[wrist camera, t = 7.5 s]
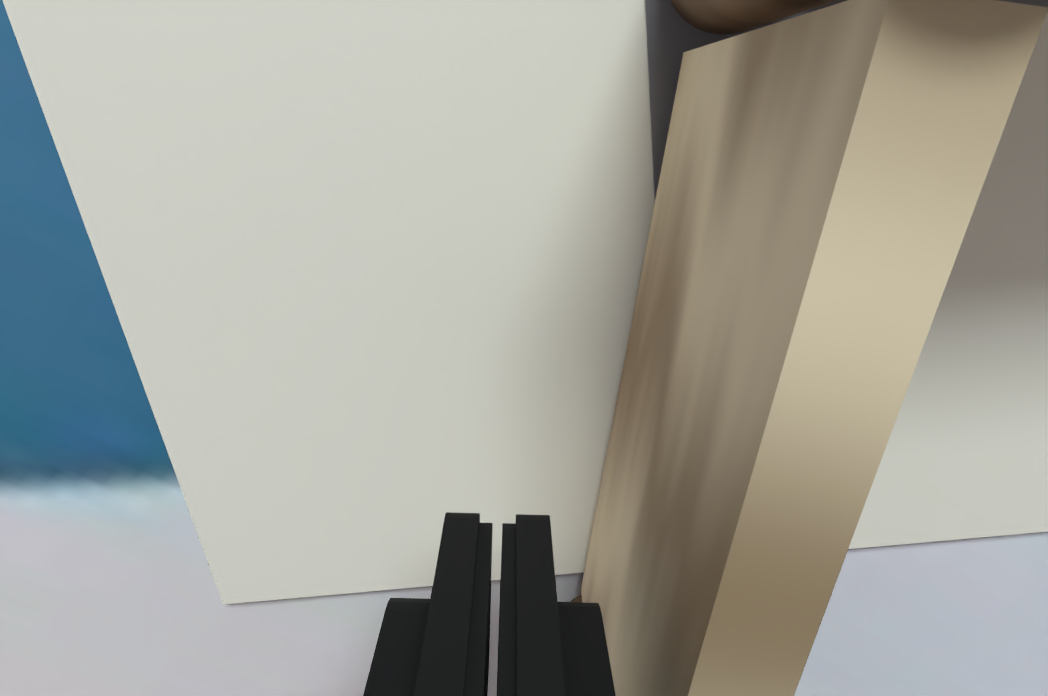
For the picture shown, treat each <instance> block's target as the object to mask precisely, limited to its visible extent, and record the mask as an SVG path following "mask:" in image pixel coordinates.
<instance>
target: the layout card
mask: <svg viewBox="0 0 1048 696" xmlns="http://www.w3.org/2000/svg"><path fill="white" fill-rule="evenodd" d="M844 1H848V0H838V1H835V2H832V3H829V4H826V5H823V6H820V7H816V8H813V9H810V10H807V11H804V12H801V13H798V14H795V15H792V16H789V17H786V18H783V19H780V20H777V21H774V22H770V23H767V24H764V25H761V26H758V27H755V28H752V29H749V30H746V31H743V32H740V33H735V34H726V35H721V34H712V33H708V32H705V31H702V30H700V29H697V28H696V27H694V26H692V25H691V24H689V23H688V22H687V21H686V20H684V19H683V18H682V17H681V15H680V14H679V13H678V12H677V11H676V9H675V8H674V6H673V5H672V3H671V1H670V0H3V3H4V6H5V9H6V11H7V14H8V17H9V20H10V22H11V25H12V28H13V31H14V33H15V36H16V39H17V41H18V44H19V47H20V50H21V52H22V55H23V58H24V61H25V63H26V66H27V69H28V72H29V74H30V77H31V80H32V82H33V85H34V88H35V91H36V93H37V96H38V99H39V102H40V104H41V107H42V110H43V113H44V115H45V118H46V121H47V124H48V126H49V129H50V132H51V134H52V137H53V140H54V143H55V145H56V148H57V151H58V154H59V156H60V159H61V162H62V165H63V167H64V170H65V173H66V175H67V178H68V181H69V184H70V186H71V189H72V192H73V195H74V197H75V200H76V203H77V206H78V208H79V211H80V214H81V216H82V219H83V222H84V225H85V227H86V230H87V233H88V236H89V238H90V241H91V244H92V247H93V249H94V252H95V255H96V257H97V260H98V263H99V266H100V268H101V271H102V274H103V277H104V279H105V282H106V285H107V288H108V290H109V293H110V296H111V298H112V301H113V304H114V307H115V309H116V312H117V315H118V318H119V320H120V323H121V326H122V329H123V331H124V334H125V337H126V339H127V342H128V345H129V348H130V350H131V353H132V356H133V359H134V361H135V364H136V367H137V370H138V372H139V375H140V378H141V380H142V383H143V386H144V389H145V391H146V394H147V397H148V400H149V402H150V405H151V408H152V411H153V413H154V416H155V419H156V421H157V424H158V427H159V430H160V432H161V435H162V438H163V441H164V443H165V446H166V449H167V452H168V454H169V457H170V460H171V462H172V465H173V468H174V471H175V473H176V476H177V479H178V482H179V484H180V487H181V490H182V493H183V495H184V498H185V501H186V503H187V506H188V509H189V512H190V514H191V517H192V520H193V523H194V525H195V528H196V531H197V534H198V536H199V539H200V542H201V545H202V547H203V550H204V553H205V555H206V558H207V561H208V564H209V566H210V569H211V572H212V575H213V577H214V580H215V583H216V586H217V588H218V591H219V594H220V596H221V599H222V602H223V604H234V603H245V602H256V601H267V600H279V599H290V598H301V597H313V596H324V595H335V594H347V593H358V592H369V591H381V590H392V589H403V588H415V587H426V586H433V582H434V576H435V570H436V564H437V559H438V553H439V547H440V541H441V535H442V530H443V524H444V518H445V514H446V512H451V513H480V523H493V529H492V566H491V581H494V580H501V552H502V523H513V524H515V522H516V514H524V515H549V516H550V523H551V534H552V546H553V558H554V570H555V575H562V574H573V573H584V571H585V565H586V560H587V555H588V550H589V545H590V539H591V534H592V529H593V524H594V518H595V513H596V508H597V503H598V497H599V492H600V487H601V482H602V476H603V471H604V466H605V461H606V455H607V450H608V445H609V440H610V435H611V429H612V424H613V419H614V414H615V408H616V403H617V398H618V393H619V387H620V382H621V377H622V372H623V366H624V361H625V356H626V351H627V345H628V340H629V335H630V330H631V325H632V319H633V314H634V309H635V304H636V298H637V293H638V288H639V283H640V277H641V272H642V267H643V262H644V256H645V251H646V246H647V241H648V235H649V230H650V225H651V220H652V215H653V209H654V204H655V199H656V194H657V188H658V183H659V178H660V173H661V167H662V162H663V157H664V152H665V146H666V141H667V136H668V131H669V125H670V120H671V115H672V110H673V105H674V99H675V94H676V89H677V84H678V78H679V73H680V68H681V63H682V57H683V52H686V51H689V50H693V49H696V48H699V47H702V46H705V45H708V44H712V43H715V42H718V41H721V40H724V39H727V38H731V37H734V36H737V35H740V34H743V33H746V32H750V31H753V30H756V29H759V28H762V27H765V26H769V25H772V24H775V23H778V22H781V21H784V20H788V19H791V18H794V17H797V16H800V15H803V14H807V13H810V12H813V11H816V10H819V9H822V8H826V7H829V6H832V5H835V4H838V3H841V2H844ZM997 1H1005V2H1012V3H1019V4H1026V5H1034V6H1041V7H1048V0H997ZM1037 532H1048V11H1047V14H1046V17H1045V19H1044V22H1043V25H1042V28H1041V30H1040V33H1039V36H1038V38H1037V41H1036V44H1035V46H1034V49H1033V52H1032V54H1031V57H1030V60H1029V63H1028V65H1027V68H1026V71H1025V73H1024V76H1023V79H1022V81H1021V84H1020V87H1019V90H1018V92H1017V95H1016V98H1015V100H1014V103H1013V106H1012V108H1011V111H1010V114H1009V117H1008V119H1007V122H1006V125H1005V127H1004V130H1003V133H1002V135H1001V138H1000V141H999V144H998V146H997V149H996V152H995V154H994V157H993V160H992V162H991V165H990V168H989V170H988V173H987V176H986V179H985V181H984V184H983V187H982V189H981V192H980V195H979V197H978V200H977V203H976V206H975V208H974V211H973V214H972V216H971V219H970V222H969V224H968V227H967V230H966V233H965V235H964V238H963V241H962V243H961V246H960V249H959V251H958V254H957V257H956V260H955V262H954V265H953V268H952V270H951V273H950V276H949V278H948V281H947V284H946V286H945V289H944V292H943V295H942V297H941V300H940V303H939V305H938V308H937V311H936V313H935V316H934V319H933V322H932V324H931V327H930V330H929V332H928V335H927V338H926V340H925V343H924V346H923V349H922V351H921V354H920V357H919V359H918V362H917V365H916V367H915V370H914V373H913V376H912V378H911V381H910V384H909V386H908V389H907V392H906V394H905V397H904V400H903V403H902V405H901V408H900V411H899V413H898V416H897V419H896V421H895V424H894V427H893V429H892V432H891V435H890V438H889V440H888V443H887V446H886V448H885V451H884V454H883V456H882V459H881V462H880V465H879V467H878V470H877V473H876V475H875V478H874V481H873V483H872V486H871V489H870V492H869V494H868V497H867V500H866V502H865V505H864V508H863V510H862V513H861V516H860V519H859V521H858V524H857V527H856V529H855V532H854V535H853V537H852V540H851V543H850V545H849V548H848V549H856V548H867V547H878V546H890V545H901V544H912V543H923V542H935V541H946V540H957V539H969V538H980V537H991V536H1003V535H1014V534H1025V533H1037Z"/></svg>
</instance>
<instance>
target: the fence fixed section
mask: <svg viewBox="0 0 1048 696" xmlns="http://www.w3.org/2000/svg"><path fill="white" fill-rule="evenodd" d="M670 1H671V3H672V5H673V6H674V8H675V9H676V11H677V12H678V13H679V14H680V15H681V17H682V18H683V19H684V20H686V21H687V22H688V23H689V24H691V25H692V26H694V27H696V28H697V29H700V30H702V31H705V32H708V33H712V34H721V35H726V34H735V33H740V32H743V31H746V30H749V29H752V28H755V27H758V26H761V25H764V24H767V23H770V22H774V21H777V20H780V19H783V18H786V17H789V16H792V15H795V14H798V13H801V12H804V11H807V10H810V9H813V8H816V7H820V6H823V5H826V4H829V3H832V2H835V1H838V0H670Z"/></svg>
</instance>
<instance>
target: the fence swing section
mask: <svg viewBox="0 0 1048 696" xmlns="http://www.w3.org/2000/svg"><path fill="white" fill-rule="evenodd" d="M1047 11H1048V7H1041V6H1034V5H1026V4H1019V3H1012V2H1005V1H997V0H848V1H844V2H841V3H838V4H835V5H832V6H829V7H826V8H822V9H819V10H816V11H813V12H810V13H807V14H803V15H800V16H797V17H794V18H791V19H788V20H784V21H781V22H778V23H775V24H772V25H769V26H765V27H762V28H759V29H756V30H753V31H750V32H746V33H743V34H740V35H737V36H734V37H731V38H727V39H724V40H721V41H718V42H715V43H712V44H708V45H705V46H702V47H699V48H696V49H693V50H689V51H686V52H683V57H682V63H681V68H680V73H679V78H678V84H677V89H676V94H675V99H674V105H673V110H672V115H671V120H670V125H669V131H668V136H667V141H666V146H665V152H664V157H663V162H662V167H661V173H660V178H659V183H658V188H657V194H656V199H655V204H654V209H653V215H652V220H651V225H650V230H649V235H648V241H647V246H646V251H645V256H644V262H643V267H642V272H641V277H640V283H639V288H638V293H637V298H636V304H635V309H634V314H633V319H632V325H631V330H630V335H629V340H628V345H627V351H626V356H625V361H624V366H623V372H622V377H621V382H620V387H619V393H618V398H617V403H616V408H615V414H614V419H613V424H612V429H611V435H610V440H609V445H608V450H607V455H606V461H605V466H604V471H603V476H602V482H601V487H600V492H599V497H598V503H597V508H596V513H595V518H594V524H593V529H592V534H591V539H590V545H589V550H588V555H587V560H586V565H585V571H584V576H583V581H582V586H581V596H579V597H577V598H575V599H573V600H572V601H571V602H582V603H598V604H599V606H600V609H601V613H602V618H603V624H604V630H605V636H606V642H607V648H608V654H609V659H610V665H611V671H612V677H613V683H614V689H615V694H616V696H794V694H795V691H796V688H797V686H798V683H799V680H800V678H801V675H802V672H803V670H804V667H805V664H806V661H807V659H808V656H809V653H810V651H811V648H812V645H813V643H814V640H815V637H816V635H817V632H818V629H819V626H820V624H821V621H822V618H823V616H824V613H825V610H826V608H827V605H828V602H829V599H830V597H831V594H832V591H833V589H834V586H835V583H836V581H837V578H838V575H839V572H840V570H841V567H842V564H843V562H844V559H845V556H846V554H847V551H848V548H849V545H850V543H851V540H852V537H853V535H854V532H855V529H856V527H857V524H858V521H859V519H860V516H861V513H862V510H863V508H864V505H865V502H866V500H867V497H868V494H869V492H870V489H871V486H872V483H873V481H874V478H875V475H876V473H877V470H878V467H879V465H880V462H881V459H882V456H883V454H884V451H885V448H886V446H887V443H888V440H889V438H890V435H891V432H892V429H893V427H894V424H895V421H896V419H897V416H898V413H899V411H900V408H901V405H902V403H903V400H904V397H905V394H906V392H907V389H908V386H909V384H910V381H911V378H912V376H913V373H914V370H915V367H916V365H917V362H918V359H919V357H920V354H921V351H922V349H923V346H924V343H925V340H926V338H927V335H928V332H929V330H930V327H931V324H932V322H933V319H934V316H935V313H936V311H937V308H938V305H939V303H940V300H941V297H942V295H943V292H944V289H945V286H946V284H947V281H948V278H949V276H950V273H951V270H952V268H953V265H954V262H955V260H956V257H957V254H958V251H959V249H960V246H961V243H962V241H963V238H964V235H965V233H966V230H967V227H968V224H969V222H970V219H971V216H972V214H973V211H974V208H975V206H976V203H977V200H978V197H979V195H980V192H981V189H982V187H983V184H984V181H985V179H986V176H987V173H988V170H989V168H990V165H991V162H992V160H993V157H994V154H995V152H996V149H997V146H998V144H999V141H1000V138H1001V135H1002V133H1003V130H1004V127H1005V125H1006V122H1007V119H1008V117H1009V114H1010V111H1011V108H1012V106H1013V103H1014V100H1015V98H1016V95H1017V92H1018V90H1019V87H1020V84H1021V81H1022V79H1023V76H1024V73H1025V71H1026V68H1027V65H1028V63H1029V60H1030V57H1031V54H1032V52H1033V49H1034V46H1035V44H1036V41H1037V38H1038V36H1039V33H1040V30H1041V28H1042V25H1043V22H1044V19H1045V17H1046V14H1047Z"/></svg>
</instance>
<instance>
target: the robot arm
mask: <svg viewBox="0 0 1048 696" xmlns="http://www.w3.org/2000/svg"><path fill="white" fill-rule="evenodd" d="M492 529H493V523H480V513H451V512H446V514H445V518H444V524H443V530H442V535H441V541H440V547H439V553H438V559H437V564H436V570H435V576H434V582H433V588H432V593H431V599H411V598H390V600H389V601H388V604H387V607H386V610H385V614H384V618H383V622H382V626H381V629H380V633H379V637H378V641H377V645H376V649H375V653H374V656H373V660H372V664H371V668H370V672H369V676H368V680H367V684H366V687H365V691H364V695H363V696H487V692H488V670H489V640H490V603H491V566H492ZM497 696H616V694H615V689H614V683H613V677H612V671H611V665H610V659H609V654H608V648H607V642H606V636H605V630H604V624H603V618H602V613H601V609H600V606H599V604H598V603H582V602H557V593H556V581H555V570H554V558H553V546H552V534H551V523H550V516H549V515H524V514H516V522H515V524H513V523H502V552H501V582H500V612H499V642H498V672H497Z"/></svg>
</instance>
